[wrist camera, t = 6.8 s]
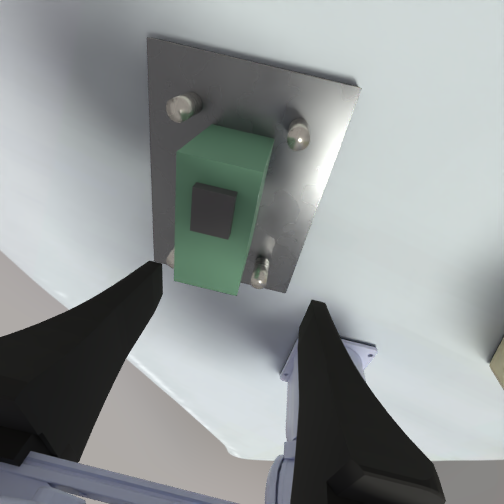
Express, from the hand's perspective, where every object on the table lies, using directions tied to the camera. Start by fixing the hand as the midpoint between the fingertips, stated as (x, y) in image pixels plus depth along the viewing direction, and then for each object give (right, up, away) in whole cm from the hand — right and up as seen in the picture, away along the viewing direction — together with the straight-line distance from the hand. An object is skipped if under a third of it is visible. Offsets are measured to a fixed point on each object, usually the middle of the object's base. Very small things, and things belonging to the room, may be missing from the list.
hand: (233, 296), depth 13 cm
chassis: (0, +7, +7) cm, 10 cm away
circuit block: (0, +6, +6) cm, 9 cm away
